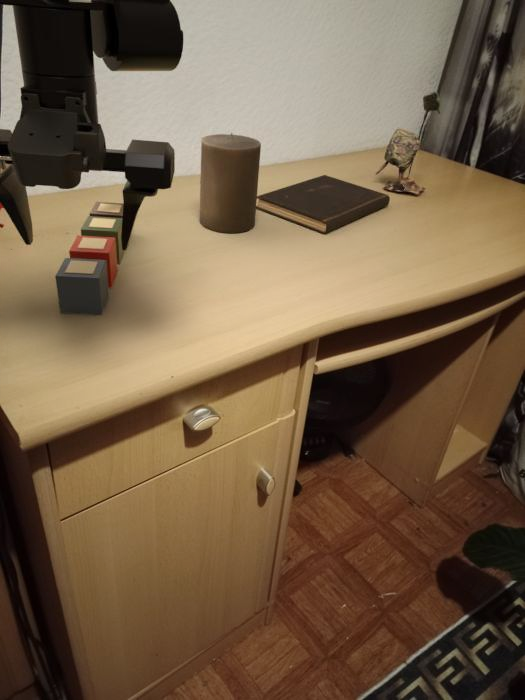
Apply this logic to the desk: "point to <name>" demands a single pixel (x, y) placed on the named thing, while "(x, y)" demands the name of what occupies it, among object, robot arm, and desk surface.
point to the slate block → (82, 286)
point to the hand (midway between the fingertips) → (77, 246)
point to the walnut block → (107, 210)
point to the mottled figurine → (407, 150)
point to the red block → (97, 252)
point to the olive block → (105, 230)
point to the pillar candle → (229, 182)
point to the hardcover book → (322, 203)
